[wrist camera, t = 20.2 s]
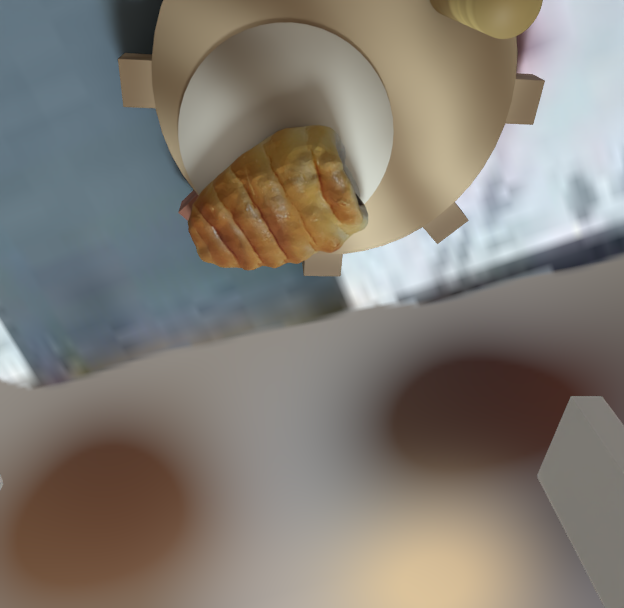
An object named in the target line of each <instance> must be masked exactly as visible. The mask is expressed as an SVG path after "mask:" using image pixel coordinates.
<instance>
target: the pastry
mask: <svg viewBox="0 0 624 608" xmlns="http://www.w3.org/2000/svg"><path fill="white" fill-rule="evenodd" d="M345 159H346V151H345V147H344V145H343V143H342V141H341V138H340V136H339V134H338V133H337V132H335V131H334V130H333V129H332V128H330V127H327V126H321V125H311V126H304V127H293V128H285V129H282V130H279V131H277V132H276V133H274V134H273V135H271V136H269V137H267V138H265V139H264V140H263V141H262V142H260V143H259V144H258V145H256V146H255V147H253V148H252V149H250V150H248V151H247V152H245V153H243V154H242V155H241V156H239V157H238V158H237V159H236V160H235V161H234V162H233V163H232V164H231V165H230V166H229V167H228V168H226V169H225V170H224V171H223V172H222V173H221V174H219V175H218V176H217V177H216V178H215V179H214V180H213V181H212V182H210V183H209V184H208V185H207V186H206V187H205V188H204V189H203V190H202V191H201V193H200V194H199V196H198V198H197V199H196V201H195V202H194V203H193V206H192V211H191V214H190V217H189V220H188V226H189V233H190V235H191V238H192V240H193V242H194V244H195V246H196V249H197V253H198V255H199V257H200V258H201V260H203V261H205V262H208V263H213V264H216V265H217V266H219V267H223V268H231V267H238V268H243V269H244V270H254V269H256V268H258V267H261V266H268V267H272V268H277V267H280V266H281V265H283V264H285V263H289V262H291V263H295V264H298V263H300V262H302V261H305V260H307V259H308V258H310V257H311V256H312V255H313V254H315V253H317V252H318V251H323V252H326V253H332V252H335V251H337V250H338V249H340V248H341V247H342V245H343V244H344V242H345V241H346V240H347V239H348V238H349V237H350V236H352V235H353V234H354V233H357V232H358V231H362V230H364V229H365V227H366V226H367V224H368V212H367V209H366V207H365V205H364V203H363V202H362V201H361V199H360V192H359V188H358V186H357V183H356V181H355V180H354V178H353V177H352V174H351V172H350V170H349V169H348V167H347V166H346V164H345Z"/></svg>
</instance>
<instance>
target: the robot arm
mask: <svg viewBox="0 0 624 608" xmlns="http://www.w3.org/2000/svg"><path fill="white" fill-rule="evenodd" d="M537 477H538V479H539V481H540V483H541V485H542V487H543V489H544V491H545V493H546V495H547V497H548V499H549V501H550V503H551V505H552V507H553V508H554V510H555V512H556V514H557V516H558V518H559V520H560V522H561V524H562V526H563V528H564V530H565V532H566V534H567V536H568V538H569V540H570V542H571V543H572V545H573V547H574V549H575V551H576V553H577V555H578V557H579V559H580V561H581V563H582V565H583V567H584V569H585V571H586V573H587V575H588V576H589V578H590V580H591V582H592V584H593V586H594V588H595V590H596V592H597V594H598V596H599V598H600V600H601V602H602V604H603V605H604V608H624V425H623V424H622V423H621V421H620V420H619V419H618V417H617V416H616V415H615V413H614V412H613V411H612V409H611V408H610V407H609V405H608V404H607V402H606V401H605V400H604V398H603V397H602V396H571V398H570V400H569V402H568V405H567V407H566V409H565V412H564V414H563V416H562V419H561V421H560V423H559V426H558V428H557V430H556V433H555V435H554V437H553V440H552V442H551V444H550V447H549V449H548V451H547V454H546V456H545V459H544V461H543V463H542V465H541V468H540V470H539V473H538V475H537ZM2 485H3V481H2V478H1V475H0V490H1V487H2Z"/></svg>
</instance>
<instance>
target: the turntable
mask: <svg viewBox="0 0 624 608" xmlns="http://www.w3.org/2000/svg"><path fill="white" fill-rule="evenodd" d="M542 1H543V0H163V2H162V5H161V8H160V12H159V16H158V21H157V25H156V29H155V33H154V43H153V52H152V54H134V53H124V54H123V55H122V56H121V57H120V58H118V63H119V72H120V80H121V89H122V98H123V107H139V108H156V112H157V115H158V119H159V122H160V126H161V129H162V133H163V136H164V138H165V140H166V143H167V145H168V148H169V150H170V152H171V155H172V157H173V159H174V160H175V162H176V164H177V165H178V167H179V169H180V171H181V172H182V174H183V176H184V177H185V179H186V180H187V181H188V183H189V184H190V185H191V187H192V188H193V189H194V190H193V191H192V192H191V193H190V194H189V195H188V196H187V197H186V198H185V199H184V200H183V201H182V203H181V206H180V209H179V213H180V214H181V215H182V216H183V217H184V218H185V219H186V220H189V217H190V214H191V211H192V206H193V203H194V202H195V201H196V199H197V198H198V196H199V194H200V193H201V191H202V190H203V189H204V188H205V187H206V186H207V185H208V184H209V183H210V182H212V181H213V180H214V179H215V178H216V177H217V176H218V175H219V174H221V173H222V172H223V171H224V170H225V169H226V168H228V167H229V166H230V165H231V164H232V163H233V162H234V161H235V160H236V159H237V158H238V157H239V156H241V155H242V154H243V153H245V152H247V151H248V150H250V149H252V148H253V147H255V146H256V145H258V144H259V143H260V142H262V141H263V140H264V139H265V138H267V137H269V136H271V135H273V134H274V133H276V132H277V131H279V130H282V129H285V128H293V127H304V126H311V125H321V126H327V127H330V128H332V129H333V130H334V131H335V132H337V133H338V134H339V136H340V138H341V141H342V143H343V145H344V147H345V151H346V159H345V164H346V166H347V167H348V169H349V170H350V172H351V174H352V177H353V178H354V180H355V181H356V183H357V186H358V188H359V192H360V199H361V201H362V202H363V203H364V205H365V207H366V209H367V212H368V224H367V226H366V227H365V229H364V230H362V231H358V232H357V233H354V234H353V235H352V236H350V237H349V238H348V239H347V240H346V241H345V242H344V244H343V245H342V247H341V248H340V249H338V250H337V251H335V252H332V253H326V252H323V251H318V252H317V253H315V254H313V255H312V256H311V257H310V258H308V259H307V260H305V261H302V264H303V273H304V276H340V275H341V266H342V256H343V254H346V253H353V252H359V251H365V250H369V249H372V248H376V247H380V246H383V245H386V244H388V243H391V242H393V241H396V240H398V239H401V238H403V237H405V236H407V235H409V234H411V233H413V232H414V231H416V230H418V229H420V228H422V227H423V228H424V229H425V230H426V231H427V233H428V234H429V235H430V236H431V237H432V238H433V240H434V241H435V242H436V243H437V244H438V243H439V242H441V241H442V240H443V239H445V238H446V237H447V236H449V235H450V234H451V233H453V232H454V231H455V230H457V229H458V228H459V227H461V226H462V225H463V224H465V223H466V222H467V221H468V219H467V217H466V216H465V215H464V213H463V212H462V210H461V209H460V208H459V207H458V205H457V204H456V203H455V201H456V200H457V199H458V198H459V197H460V196H461V195H462V194H463V192H464V191H465V190H466V189H467V188H468V187H469V186H470V185H471V183H472V182H473V181H474V179H475V178H476V177H477V175H478V174H479V173H480V171H481V170H482V168H483V167H484V165H485V164H486V162H487V160H488V158H489V157H490V155H491V153H492V151H493V150H494V148H495V146H496V144H497V141H498V139H499V137H500V134H501V132H502V130H503V128H504V125H505V123H507V124H530V125H533V123H534V119H535V116H536V112H537V108H538V104H539V101H540V97H541V93H542V89H543V86H544V82H545V81H544V80H543V79H541V78H539V77H537V76H535V75H533V74H518V73H516V68H517V40H516V36H517V35H519V34H521V33H523V32H524V31H525V30H526V29H528V28H529V27H530V26H531V24H532V23H533V22H534V20H535V19H536V17H537V16H538V14H539V11H540V9H541V6H542Z"/></svg>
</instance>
